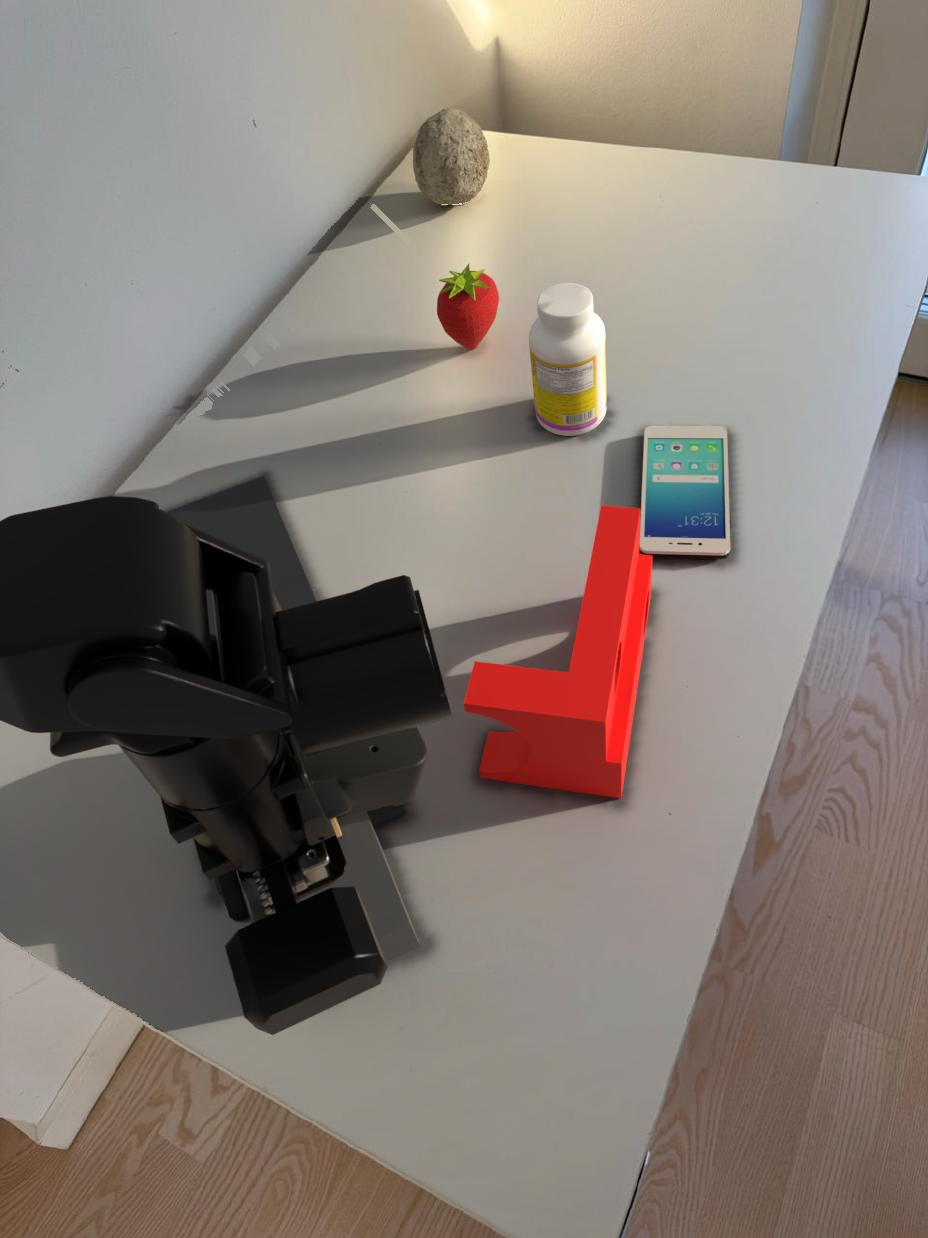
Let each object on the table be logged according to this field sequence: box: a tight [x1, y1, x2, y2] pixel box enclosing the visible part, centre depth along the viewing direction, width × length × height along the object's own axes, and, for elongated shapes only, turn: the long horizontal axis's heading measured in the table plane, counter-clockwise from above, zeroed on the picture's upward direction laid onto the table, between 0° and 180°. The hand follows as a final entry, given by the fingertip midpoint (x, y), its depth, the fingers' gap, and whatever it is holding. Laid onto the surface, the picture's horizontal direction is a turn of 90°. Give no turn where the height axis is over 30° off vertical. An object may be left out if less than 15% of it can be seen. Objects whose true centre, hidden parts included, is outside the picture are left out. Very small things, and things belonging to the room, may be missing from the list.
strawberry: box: [436, 263, 500, 351], centre depth 97 cm, size 6×8×10 cm
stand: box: [269, 811, 421, 962], centre depth 66 cm, size 9×9×4 cm
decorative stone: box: [412, 107, 491, 207], centre depth 114 cm, size 10×8×10 cm
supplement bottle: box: [528, 282, 608, 437], centre depth 88 cm, size 7×7×13 cm
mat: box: [165, 475, 407, 895], centre depth 81 cm, size 38×14×1 cm, turn 23°
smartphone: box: [639, 425, 732, 560], centre depth 85 cm, size 8×1×15 cm
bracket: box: [463, 504, 654, 799], centre depth 72 cm, size 18×10×10 cm
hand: (305, 887), depth 55 cm, fingers closed
